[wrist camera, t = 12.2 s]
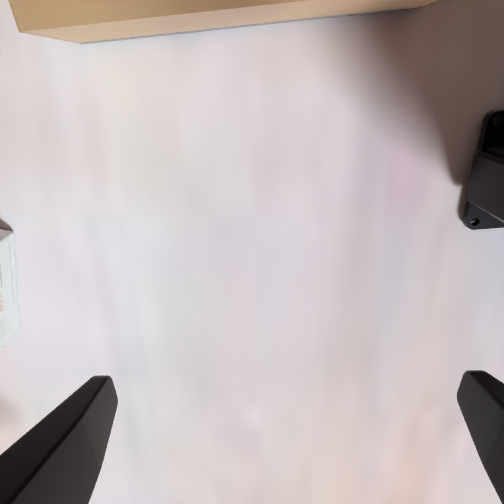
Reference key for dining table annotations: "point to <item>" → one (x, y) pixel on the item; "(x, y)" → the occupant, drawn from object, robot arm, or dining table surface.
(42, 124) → the dining table surface
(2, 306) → the small box
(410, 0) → the corner tray
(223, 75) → the dining table surface
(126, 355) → the dining table surface
